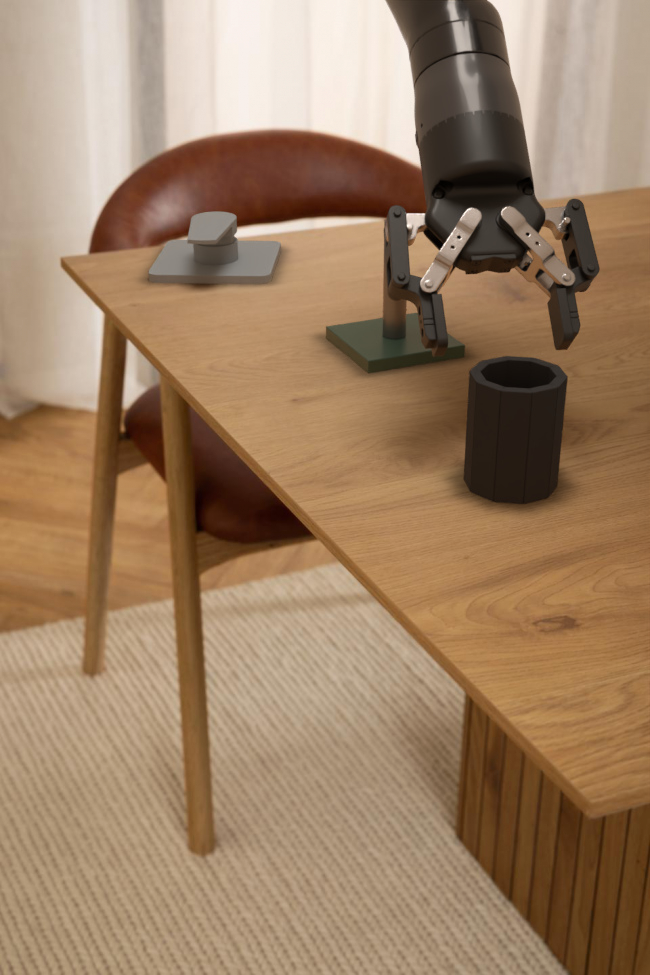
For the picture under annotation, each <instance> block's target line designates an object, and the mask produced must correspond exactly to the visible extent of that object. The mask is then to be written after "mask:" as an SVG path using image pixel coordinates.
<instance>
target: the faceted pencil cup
mask: <svg viewBox="0 0 650 975" xmlns="http://www.w3.org/2000/svg"><path fill="white" fill-rule="evenodd" d="M568 377H569V376H568V375H567V374H566V372H565V371H564V370H563V369H562V367H561V366H560V365H559V364H555V363H552V362H549V361H546V360H543V359H540V358H536V357H532V356H531V357H529V356H513V355H505V356H504V355H503V356H499V357H493V358H488V359H483V360H480V361H478V363H476V364H475V365H474V366H473V367H471V369H470V370H469V371H468V386H467V388H468V390H467V405H466V406H467V407H466V408H467V409H466V426H465V442H464V445H465V446H464V462H463V481H464V483H465V485H466V487H467V489H468V490H469V492H470V493H471V494H474V495H476V496H478V497H480V498H483V499H485V500H486V501H487V500H488V501H490V502H493V503H500V504H512V505H513V504H515V505H526V504H530V503H534V502H538V501H541V500H546V499H548V498H550V496H552V494H553V493H554V491H555V490H556V489H557V488H558V484H559V473H560V472H559V471H560V462H561V449H562V442H563V441H562V440H563V432H564V421H565V410H566V409H565V408H566V397H567V388H568Z"/></svg>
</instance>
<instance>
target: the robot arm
mask: <svg viewBox="0 0 650 975" xmlns="http://www.w3.org/2000/svg"><path fill="white" fill-rule="evenodd" d="M384 1H385V3H386V5H387V7H388V9H389V11H390V13H391V15H392V17H393V19H394V21H395V23H396V25H397V27H398V30H399V32H400V34H401V36H402V39H403V40H404V43H405V46H406V48H407V52H408V53H407V54H408V61H409V65H410V72H411V79H412V85H413V94H414V95H413V96H414V97H413V98H414V105H413V106H414V108H413V118H414V126H415V127H414V128H415V134H414V138H415V144H416V145H415V146H416V147H417V149H418V156H419V162H420V163H419V164H420V170H421V177H422V185H423V192H424V199H425V205H426V211H425V213H424V212H421V213H420V212H407V210H406V208H404V207H403V206H402V205H398V204H395V205H391V206H390V208H389V209H388V211H387V215H386V218H385V219H386V223H385V226H384V225H383V248H384V247H385V263H386V280H387V294H388V297H389V298H390V299H392V300H394V301H399V300H401V299H403V300H407V302H410V303H412V304H413V305H414V306H415V308H416V313H418V320H419V328H420V335H421V342H422V344H423V346H424V347H425V349H429V348H431V351H432V356H433V357H435V356H444V354H445V352H446V350H447V348H448V335H447V333H448V329H447V323H446V322H447V321H446V315H445V308H444V307H445V306H444V301H443V294H442V293H440V291H441V290H442V288H443V287H444V286H445V285H446V284H447V282H448V280H449V279H450V277H451V276H452V274H453V273H454V271H455V269H458V270H460V271H463V272H464V273H465V275H478V274H482V273H484V272H491V273H496V274H505V273H506V274H508V273H510V272H511V270H513V269H514V270H516V272H518V273H519V274H520V275H521V277H523V278H524V280H526V282H529V283H533V284H535V285H536V286H537V287H538V288H539V289H540V290H541V291H542V292H543V293H544V294H546V296H547V297H548V298H549V299H548V302H547V309H548V310H547V311H548V316H549V322H550V328H551V335H552V340H553V345H554V349H555V351H566V350H568V349H569V348H570V346H571V345H572V344H573V342H574V340H575V339H576V337H577V336H578V335H579V333H580V330H581V320H580V314H579V308H578V304H577V297H576V293H585V292H586V291H588V290H589V288H590V286H591V284H592V283H593V281H594V280H595V278H596V277H597V276H598V274H599V273H600V264H599V260H598V255H597V252H596V248H595V243H594V240H593V236H592V231H591V229H590V228H591V227H590V224H589V220H588V217H587V212H586V209H585V205H584V204H585V203H584V202H583V201H582V200H581V199H578V198H570V199H569V200H568V201H567V203H566V205H565V206H555V207H545V208H544V207H543V206H542V204H541V203H540V202H539V199H537V197H536V194H535V185H534V176H533V172H532V165H531V159H530V154H529V148H528V142H527V138H526V130H525V125H524V119H523V113H522V106H521V103H520V102H521V101H520V97H519V94H518V90H517V87H516V85H515V81H514V79H513V75H512V70H511V64H510V58H509V53H508V47H507V41H506V35H505V30H504V24H503V21H502V18H501V15H500V12H499V10H498V9H497V8H496V6H495V5H494V4H493V3H492V2H491V1H489V0H384ZM543 227H544V228H547V229H549V230H550V231H551V233H552V235H553V238H554V239H555V240H556V241H561V246H562V250H563V253H564V258H565V261H566V264H565V263H564V262H563V261H562V260H561V259H560V258H559V257H558V256H557V255H556V251H555V249H554V247H553V246H552V245H551V244H550V243H549V242H548V241H547V240H546V239H545V238H544V237H543V236H542V235H541V234H540V232H541V230H542V228H543ZM419 233H423V235H424V236H425V238H426V239H427V240H428V241H429V242H430V243H431V244H432V245H433V246H434V247H435V248H436V249H437V250H438V252H437V254H436V255H435V257H434V259H433V261H432V262H431V264H430V266H429V267H428V269H427V270H426V271H425V273H424V274H423V276H422V277H421V276H417V275H414V274H411V266H410V252H409V251H410V250H409V247H410V246H412V245H413V244H414V243H415V241H416V237H417V236H418V234H419ZM528 253H529V254H530V255H531V256H530V255H529V254H528Z"/></svg>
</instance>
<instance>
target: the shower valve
mask: <svg viewBox="0 0 650 975" xmlns="http://www.w3.org/2000/svg"><path fill="white" fill-rule="evenodd" d="M237 217H238V216H237V215H236V214H234V213H232V212H228V211H219V210H217V211H206V212H199V213H196V214H194V215H192V216H191V218H190V224H189V228H188V234H187V239H172V240H169V241H167V242H166V244H165V245H164V247H163V248H162V249H161V251H160V253H159V255H158V256H157V257H156V259H155V261H154V262H153V263H152V265H151V266H150V268H149V270H148V271H147V272H148V281H149V282H151V283H155V284H208V285H209V284H210V285H212V284H213V285H214V284H215V285H217V284H218V285H219V284H220V285H222V284H223V285H267V284H269V283H271V282H272V279H273V276H274V274H275V271H276V269H277V265H278V262H279V259H280V257H281V254H282V243H281V242H280V241H277V240H238V238H237V237H236V236H235V235H236V234H237V232H238V218H237Z"/></svg>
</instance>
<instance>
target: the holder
mask: <svg viewBox="0 0 650 975" xmlns="http://www.w3.org/2000/svg"><path fill="white" fill-rule="evenodd" d="M386 219H387V218H385V219H384V220H383V222H384V225H383V227H384V226H385V223H386ZM382 279H383V281H382V285H383V286H382V287H383V288H382V291H383V292H382V295H383V296H382V317H379V318H372V319H366V320H359V321H352V322H346V323H340V324H333V325H332V324H331V325H326V326H325V339H327V341H329V343H331V344H333V346H335V347H336V348H337V349H338V350H339V351H341V352H342V353H343V354H344V355H345V356H347V357H348V358H349V359H350V360H351V361H353V362H354V363H355V364H356V365H357V366H359V367H360V368H361V369H362V370H364V371H365V372H366V373H367V374H373V373H379V372H384V371H391V370H396V369H402V368H409V367H415V366H419V365H426V364H431V363H438V362H443V361H448V360H449V361H450V360H454V359H455V360H456V359H462V358H465V357H466V344H464V343H463V342H461V341H460V340H459V339H457V338H455V337H454V336H453V335H451V334H450V333H448V332H447V335H448V348H447V350H446V352H445V354H444V356H435V357H433V356H432V351H431V348H429V349H425V347H424V346H423V344H422V342H421V335H420V328H419V320H418V313H417V312H411V313H407V305H408V304H407V302H408V301H407V300H403V299H401V300H399V301H394V300H392V299H390V298H389V297H388V294H387V280H386V263H385V247H384V246H383V278H382Z"/></svg>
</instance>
